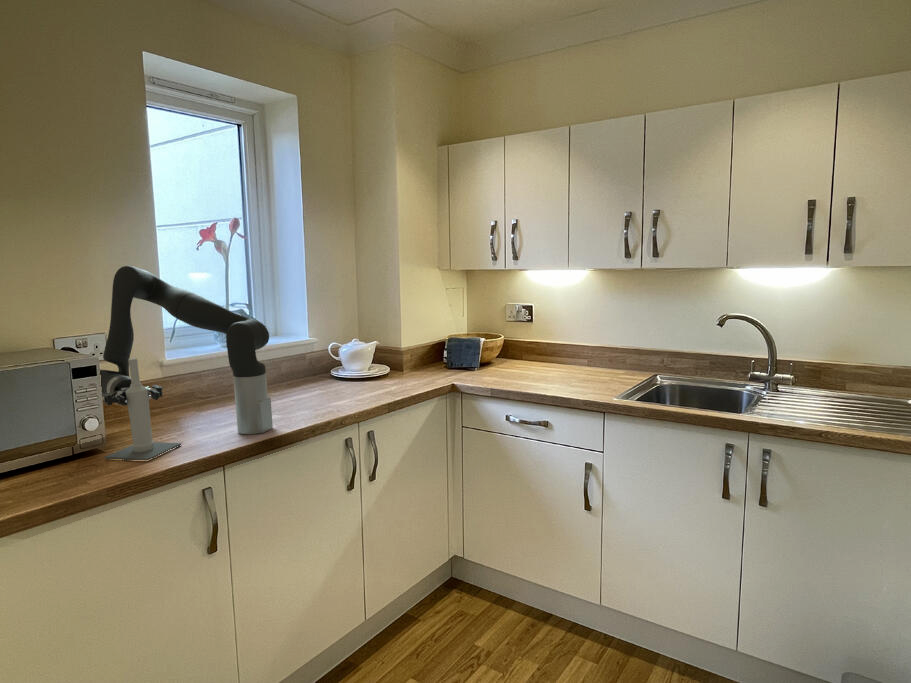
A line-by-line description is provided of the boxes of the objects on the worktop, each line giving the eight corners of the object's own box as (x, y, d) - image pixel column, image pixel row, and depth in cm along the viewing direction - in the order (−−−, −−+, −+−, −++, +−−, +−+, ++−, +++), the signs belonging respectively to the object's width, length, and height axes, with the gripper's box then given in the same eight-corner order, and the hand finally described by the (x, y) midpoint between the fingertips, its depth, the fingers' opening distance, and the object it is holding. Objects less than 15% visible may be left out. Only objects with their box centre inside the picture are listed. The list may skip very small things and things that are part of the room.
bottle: (158, 445, 159) (147, 356, 155) (148, 452, 154) (137, 360, 150) (138, 446, 159) (127, 357, 155) (129, 453, 154) (117, 361, 149)
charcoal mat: (181, 446, 161) (181, 443, 161) (147, 462, 148) (147, 459, 148) (141, 444, 164) (140, 441, 164) (104, 459, 151) (104, 456, 151)
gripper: (93, 381, 159) (108, 389, 147) (150, 373, 169) (168, 380, 157) (96, 407, 160) (111, 418, 148) (152, 398, 170) (170, 407, 158)
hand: (140, 398), depth 153 cm, fingers open, 7 cm apart
